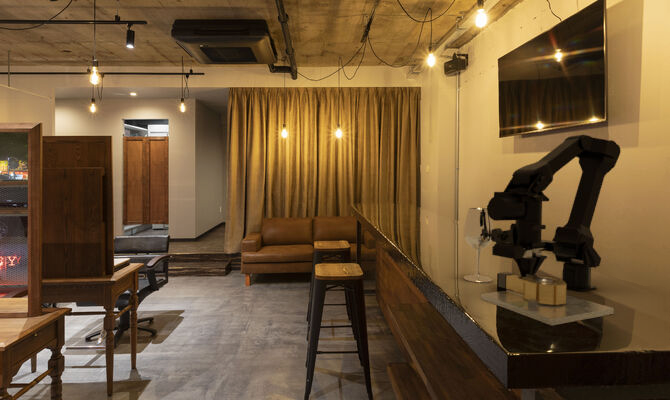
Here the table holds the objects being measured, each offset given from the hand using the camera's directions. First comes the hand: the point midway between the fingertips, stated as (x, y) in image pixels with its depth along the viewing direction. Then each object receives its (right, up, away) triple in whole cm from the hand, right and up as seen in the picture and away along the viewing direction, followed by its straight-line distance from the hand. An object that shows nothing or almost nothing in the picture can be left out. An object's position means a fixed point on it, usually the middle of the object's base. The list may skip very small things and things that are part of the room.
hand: (526, 283), depth 93 cm
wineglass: (-7, -2, +14) cm, 16 cm away
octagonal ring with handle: (-3, -1, -6) cm, 7 cm away
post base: (-1, -3, -10) cm, 10 cm away
